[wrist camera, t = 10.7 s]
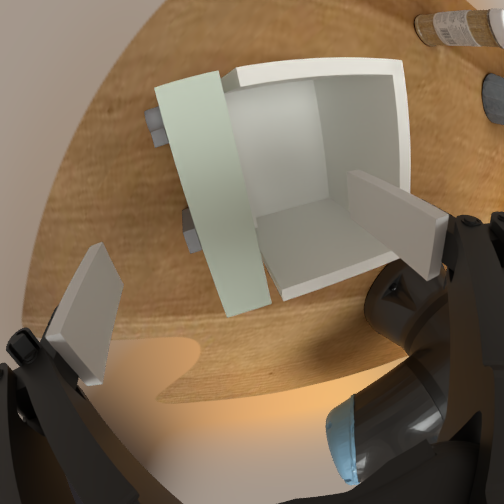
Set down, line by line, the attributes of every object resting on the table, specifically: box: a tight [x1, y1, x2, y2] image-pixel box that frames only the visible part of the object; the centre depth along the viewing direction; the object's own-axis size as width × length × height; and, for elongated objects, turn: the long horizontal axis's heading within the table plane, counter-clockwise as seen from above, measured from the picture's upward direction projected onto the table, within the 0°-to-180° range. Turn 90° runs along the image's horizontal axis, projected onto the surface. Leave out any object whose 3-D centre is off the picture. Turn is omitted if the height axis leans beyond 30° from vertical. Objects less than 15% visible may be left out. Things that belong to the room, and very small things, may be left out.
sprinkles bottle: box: [415, 9, 504, 49], centre depth 15 cm, size 5×5×14 cm
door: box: [144, 71, 272, 318], centre depth 19 cm, size 14×4×12 cm, turn 12°
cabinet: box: [151, 57, 411, 301], centre depth 20 cm, size 14×15×12 cm
